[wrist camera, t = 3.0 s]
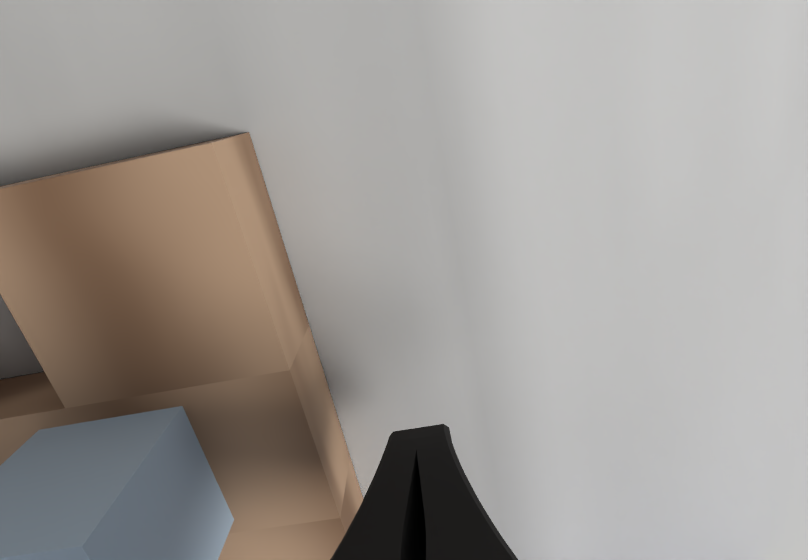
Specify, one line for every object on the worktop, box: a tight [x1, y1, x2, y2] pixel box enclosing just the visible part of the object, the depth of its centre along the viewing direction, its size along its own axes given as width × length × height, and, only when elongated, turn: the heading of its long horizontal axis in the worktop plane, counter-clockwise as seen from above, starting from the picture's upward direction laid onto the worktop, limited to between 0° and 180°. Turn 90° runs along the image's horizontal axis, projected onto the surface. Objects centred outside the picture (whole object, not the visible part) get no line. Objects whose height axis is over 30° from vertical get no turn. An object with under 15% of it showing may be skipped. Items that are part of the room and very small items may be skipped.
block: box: [0, 406, 234, 560], centre depth 11 cm, size 4×4×4 cm
